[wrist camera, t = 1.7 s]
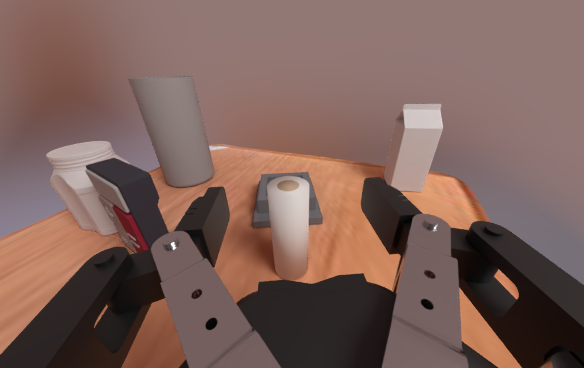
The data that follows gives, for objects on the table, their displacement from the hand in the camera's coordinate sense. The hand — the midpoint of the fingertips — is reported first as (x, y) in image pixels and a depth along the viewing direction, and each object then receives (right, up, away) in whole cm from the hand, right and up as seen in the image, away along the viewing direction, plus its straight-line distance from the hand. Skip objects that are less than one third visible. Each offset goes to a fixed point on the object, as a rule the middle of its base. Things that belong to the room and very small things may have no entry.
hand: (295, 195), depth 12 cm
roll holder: (-1, -3, +34) cm, 34 cm away
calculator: (-24, -11, +23) cm, 34 cm away
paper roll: (0, -12, +19) cm, 23 cm away
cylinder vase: (-28, +2, +46) cm, 54 cm away
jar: (-36, -6, +31) cm, 48 cm away
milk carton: (+27, 0, +40) cm, 48 cm away
